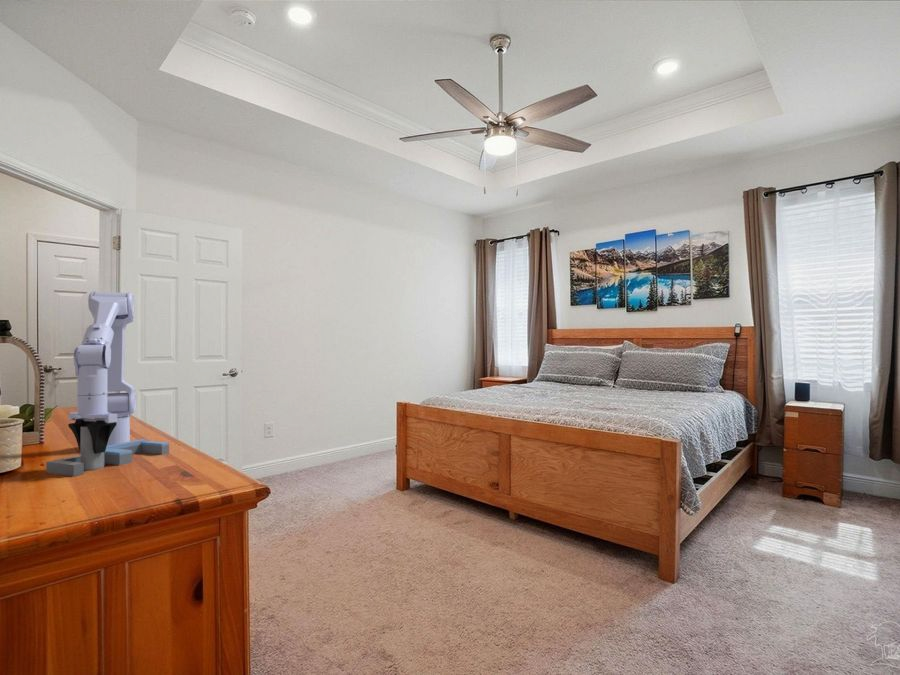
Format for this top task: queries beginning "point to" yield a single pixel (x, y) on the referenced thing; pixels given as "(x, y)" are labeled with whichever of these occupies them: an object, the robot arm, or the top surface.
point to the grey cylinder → (89, 452)
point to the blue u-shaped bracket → (117, 449)
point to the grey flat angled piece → (74, 467)
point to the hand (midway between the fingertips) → (92, 451)
